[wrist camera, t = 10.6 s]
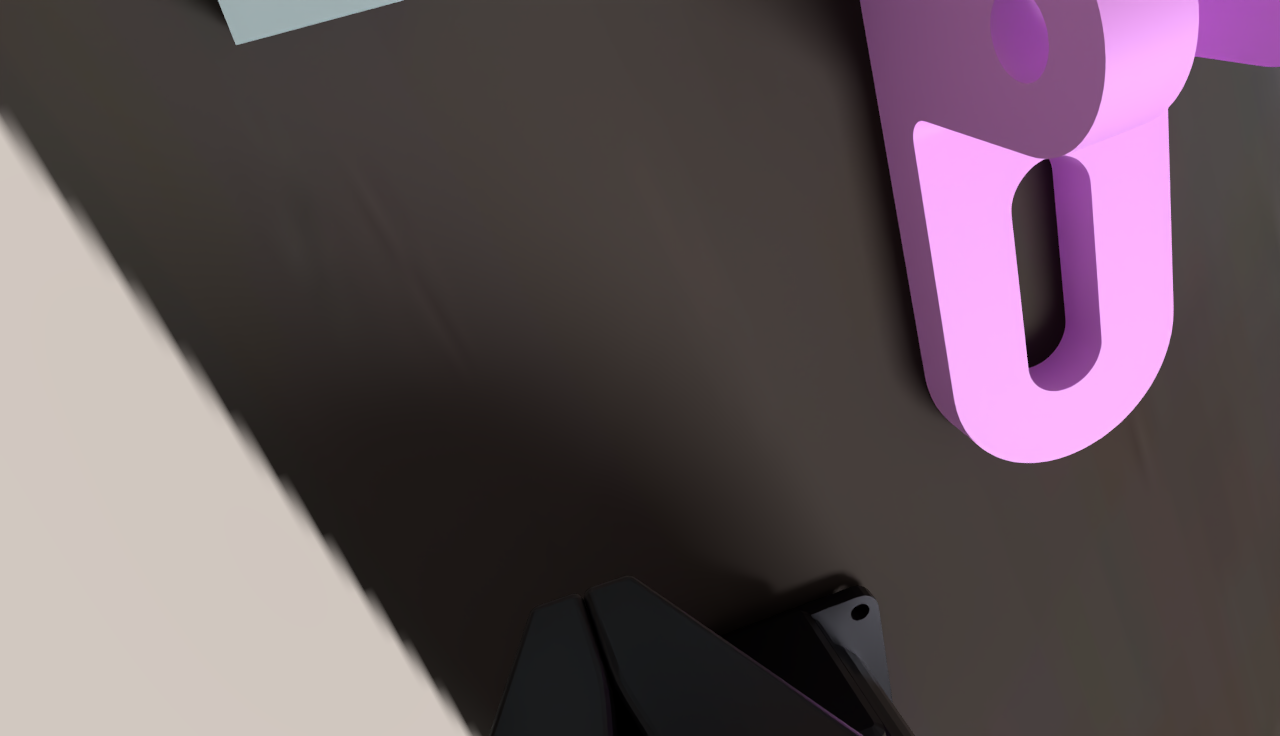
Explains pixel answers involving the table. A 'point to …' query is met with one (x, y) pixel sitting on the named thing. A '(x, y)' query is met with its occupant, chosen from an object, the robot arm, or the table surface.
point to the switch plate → (286, 15)
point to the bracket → (1083, 187)
